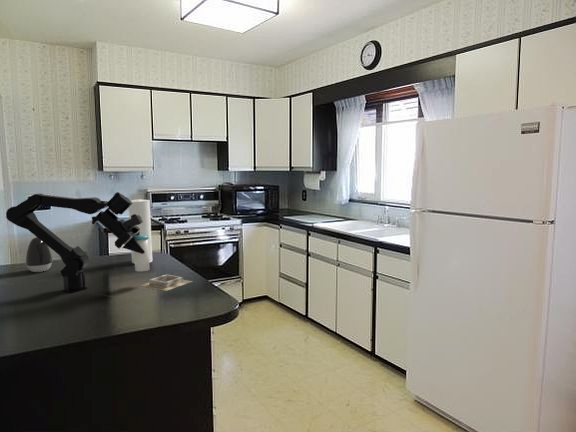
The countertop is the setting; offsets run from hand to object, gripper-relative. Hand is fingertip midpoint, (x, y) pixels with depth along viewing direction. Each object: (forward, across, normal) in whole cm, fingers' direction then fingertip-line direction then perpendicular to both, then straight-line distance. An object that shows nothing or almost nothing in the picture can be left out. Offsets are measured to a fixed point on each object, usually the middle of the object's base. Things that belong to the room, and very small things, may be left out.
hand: (145, 251), depth 157 cm
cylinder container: (+3, +43, +16) cm, 46 cm away
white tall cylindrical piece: (+4, 0, +6) cm, 7 cm away
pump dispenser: (-26, +33, +46) cm, 62 cm away
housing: (+15, 0, +4) cm, 15 cm away
